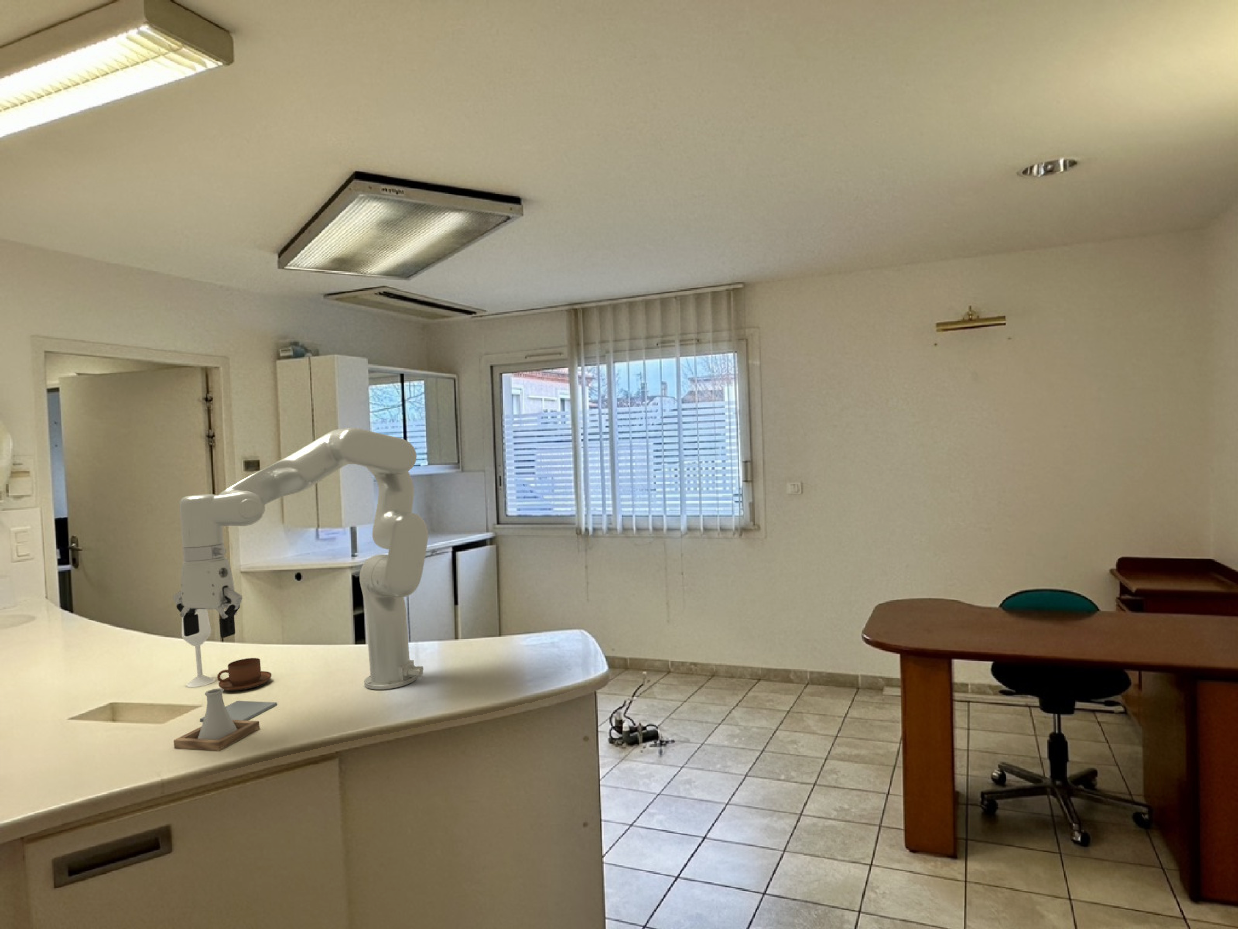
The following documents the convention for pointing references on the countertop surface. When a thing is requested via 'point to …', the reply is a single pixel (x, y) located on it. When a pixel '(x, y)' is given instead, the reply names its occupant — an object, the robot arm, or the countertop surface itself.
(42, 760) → the countertop surface
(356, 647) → the countertop surface
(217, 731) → the flask
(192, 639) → the champagne flute
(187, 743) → the square wooden frame
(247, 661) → the cup and saucer
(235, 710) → the slate tile
